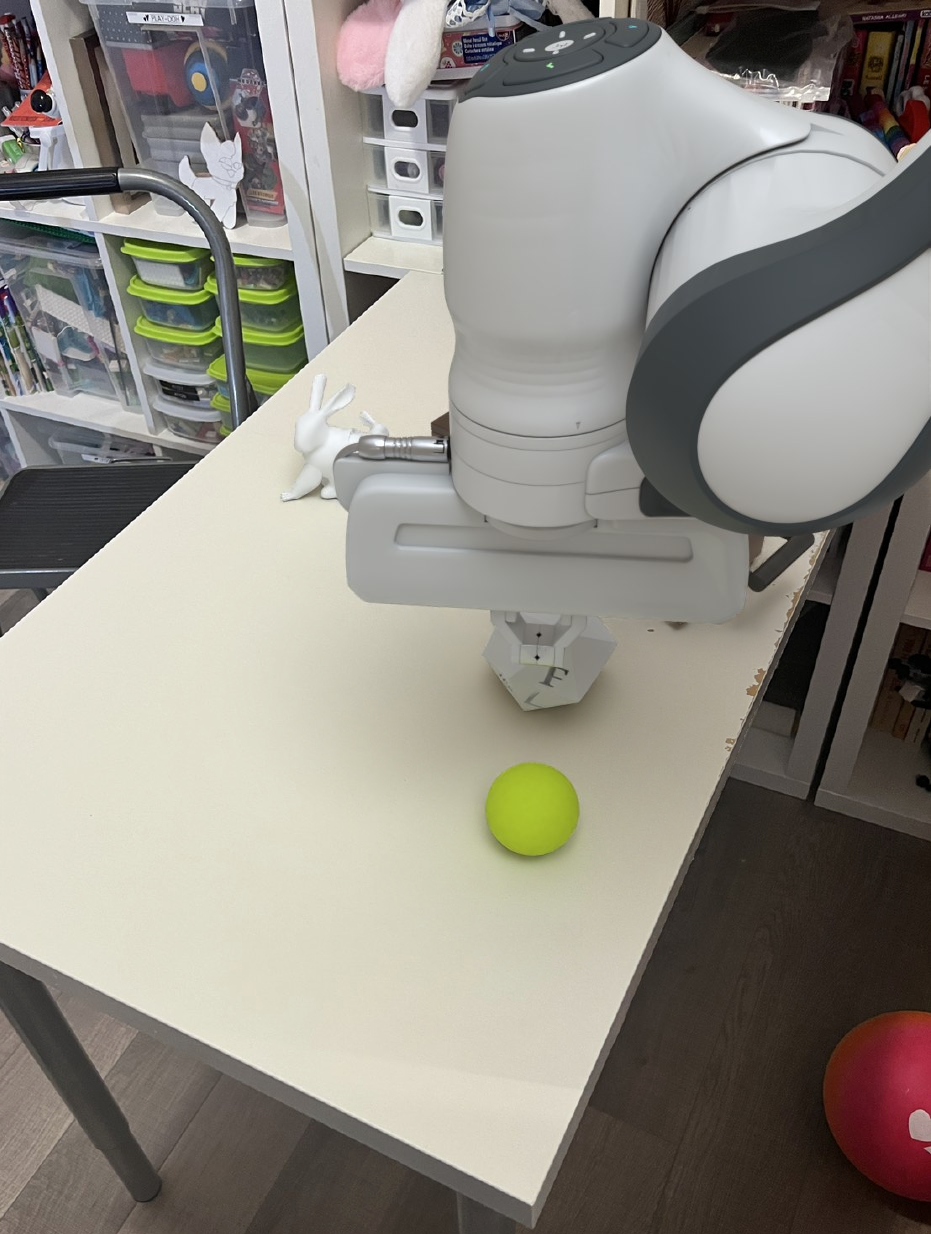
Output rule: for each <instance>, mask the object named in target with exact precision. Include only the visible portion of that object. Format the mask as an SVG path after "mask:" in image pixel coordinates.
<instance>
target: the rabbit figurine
mask: <svg viewBox="0 0 931 1234" xmlns="http://www.w3.org/2000/svg"><path fill="white" fill-rule="evenodd" d="M327 382H328V378H327V375H326V374H325V373H318V374H316V375H315V376H314V377H313V380H312V383H311V389H310V397H309V406H308V410H307V411H306V412H304V413H302V414H301V415H300V416H299V417H298V418H297V419H296V420H295V425H294V437H293V447H294V449H295V451H296V452H298V453H301V455H302V457H303V458H302V459H303V460H304V462H305V463H304V466H303V468H302V470H301V472H300V474H299V476H298V478H297V479H296V481H295V483H294V484H293V486H292V488H291V491H288V492H287V491H285V492H281V493H280V494H279V498H280V499H279V501H282V502H286V501H291V500H298V499H301V498H302V497H303V496H306V495H307V494H309V493H310V492H313V490H315V489H316V488H318V487H319V485H320V484H321V485H322V486H323V487H322V488H321V490H320V498H322V499H337V495H336V491H335V484H334V477H333V470H332V469H333V462H334V459H335V457H336V455H337V454H338V452H339V451H340V450H341V449H343V448H344V447H346V446H347V445H350V444H353V443H358V442H359V438H360V437H361V436H365V435H386V436H387V437H390V431H389V429H388V428H387V426H386V425H385V424H383V423H379V422H376V420H374V418H373V417H372V415H371V413H369V412H368V411H367V410H366V409H363V410H361V412H360V414H361V415H359V417H358V420H359V422H360V424H362V425H363V426H366V427H368V428H369V430H368V432H365V431H361V430H357V429H356V428H355V427H351V428H342V427H339V426H335V425H330V424H329V423H328V422H327V420H329V418H330V417H332V416H333V415H334V414H336V413H337V412H339V411H340V410H342V409H345V408H346V407H347V406H349V405H350V404H351V403H352V402H353V400H354V399H355V397H356V386H355V385H354V384H353V383H352V382H348V383H346V384H345V385H344V386H342V388H341V389H339V390H338V391H337V392H335V393H334V394H333V395H332V396H331V397H330V398H329V399H328V400H326V402H325V403H324V404H323V399H324V393H325V390H326V386H327ZM322 404H323V405H322ZM353 453H358V451H356V452H353Z"/></svg>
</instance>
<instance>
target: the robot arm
mask: <svg viewBox="0 0 931 1234" xmlns="http://www.w3.org/2000/svg"><path fill="white" fill-rule="evenodd" d="M444 156H445V157H444V168H443V169H444V170H443V187H442V229H441V231H442V273H443V274H442V275H443V276H442V277H443V292H444V293H443V294H444V299H445V304H446V307H447V310H448V312H449V315H450V319H451V321H452V324H453V331H454V339H455V341H454V350H453V351H454V352H453V355H452V358H451V362H450V366H449V370H448V377H447V395H448V396H447V397H448V399H447V400H448V411H449V422H450V437H440V436H431V435H414V436H402V437H401V436H399V437H398V436H397V437H396V436H395V437H394V436H389V437H387V436H386V435H365V436H361V437H360V438H359V442H358V443H353V444H350V445H347V446H346V447H344V448H343V449H341V450H340V451H339V452H338V454H337V455H336V457H335V459H334V462H333V469H332V470H333V477H334V484H335V491H336V495H337V497H336V499H337V501H338V502H339V504H340V506H341V507H342V508H343V510H345V511H346V512H347V520H346V528H345V529H346V531H345V549H344V550H345V553H344V554H345V557H344V558H345V574H346V575H345V576H346V583H347V586H348V588H349V590H351V592H353V593H354V594H355V595H356V597H358V598H359V599H360V600H361V601H362V602H365V603H368V604H380V605H398V606H399V605H401V606H415V607H417V606H418V607H432V608H433V607H434V608H448V609H465V610H481V611H489V613H490V614H489V616H490V619H489V620H490V622H491V624H492V625H493V627H494V628H495V627H496V629H497V630H498V631H499V632H500V633H501V635H502V636H503V637H504V638H505V640H506V641H507V642H508V643H509V644H511V664H520V665H536V666H537V665H538V666H549V667H561V668H563V665H564V655H565V647H568V646H569V645H570V644H571V643H572V642H573V641H574V640H575V639H576V638H577V637H578V635H579V634H580V633H581V632H582V631H583V630H584V629H585V628H586V627H587V616H593V617H599V618H608V619H609V618H611V619H624V620H625V619H627V620H628V619H629V620H643V621H660V622H661V621H662V622H675V623H677V622H683V623H692V624H693V623H694V624H708V625H723V624H725V623H727V622H729V621H731V619H733V618H735V617H736V616H737V615H739V614H740V613H741V612H742V611H743V610H744V608H745V604H746V599H747V593H748V588H749V587H748V577H749V570H750V563H749V539H748V535H754V536H764V537H765V538H767V537H768V538H781V537H790V536H800V535H807V534H813V535H814V534H818V533H822V532H827V531H831V530H834V529H837V528H841V527H843V526H847V525H850V524H851V523H854V522H857V521H860V520H862V519H864V518H866V517H867V516H871V515H872V514H874V513H876V512H878V511H880V510H881V509H883V508H885V507H887V506H888V505H890V504H891V503H893V502H894V501H896V500H897V499H900V497H902V496H903V495H905V494H906V493H907V492H908V491H910V490H911V489H912V488H913V487H914V486H915V485H916V484H918V482H919V481H920V480H922V479H923V478H924V477H925V476H926V475H927V474H928V472H929V471H930V470H931V128H930V129H929V130H928V131H927V132H926V133H925V134H924V135H923V136H922V137H921V138H920V139H919V140H918V141H917V142H916V143H915V144H914V145H913V146H912V147H911V148H910V150H908V152H907V153H905V155H904V156H902V158H901V159H900V160H899V161H898V160H897V159H896V157H895V155H894V154H893V153H892V151H891V149H890V148H889V147H888V146H887V145H886V143H884V141H882V139H881V138H879V136H878V135H876V134H875V133H873V131H871V130H870V129H868V128H867V127H865V126H864V125H862V124H861V123H858V122H856V121H854V120H852V119H850V118H848V117H845V116H842V115H839V114H834V113H829V112H823V111H813V110H811V111H809V110H805V109H802V108H798V107H794V106H792V105H787V104H784V103H782V102H778V101H775V100H772V99H769V98H767V97H765V96H761V95H759V94H756V93H754V92H752V91H750V90H747V89H745V88H743V87H741V86H739V85H737V84H735V83H732V82H731V81H729V80H727V79H725V78H723V77H722V76H720V75H719V74H717V73H715V72H714V71H712V70H710V69H708V68H707V67H706V66H704V65H702V64H701V63H700V62H698V61H696V60H695V59H694V58H693V57H691V56H690V55H689V54H688V53H687V52H686V51H684V50H683V49H682V48H681V47H680V46H679V45H678V43H676V42H675V40H674V39H673V38H672V37H671V36H670V35H669V34H668V33H667V31H666V30H665V29H664V28H663V27H662V26H660V25H658V24H656V23H655V22H653V21H650V20H646V19H640V18H637V17H622V18H621V17H612V16H601V17H600V16H599V17H592V18H585V19H580V20H575V21H570V22H567V23H562V24H559V25H556V26H551V27H548V28H546V29H543V30H540V31H536V32H534V33H532V34H530V35H527V36H525V37H523V38H522V39H521V40H519V41H517V42H515V43H513V44H510V45H508V46H505V47H503V48H502V49H499V51H497V52H496V53H495V54H494V55H493V56H491V57H490V58H489V59H488V60H487V61H486V62H485V63H484V64H483V65H482V66H481V67H480V68H479V69H478V70H477V71H476V72H475V73H474V75H473V76H472V77H471V78H470V80H469V81H468V83H467V84H466V86H465V87H464V89H463V90H462V92H461V93H460V95H459V97H458V98H457V101H456V102H455V105H454V107H453V111H452V113H451V118H450V122H449V126H448V132H447V139H446V147H445V155H444ZM356 451H358V453H353V452H356ZM519 612H528V613H544V614H560V615H561V617H560V619H559V620H558V621H557V622H556V623H555V625H546V624H532V623H526V622H525V620H524V619H523V617H522V616H521V614H520V613H519Z"/></svg>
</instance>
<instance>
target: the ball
mask: <svg viewBox="0 0 931 1234" xmlns="http://www.w3.org/2000/svg"><path fill="white" fill-rule="evenodd" d="M485 818H486V821H487V825H488V827H489V830H490V831H491V833H492V834H493V837H495V839H496V840H497V841H498V842H499V843H500V844H501V845H502V846H504V847H505V848H507V849H508V850H510V851H512V852H514V853H516V854H519V855H523V856H532V857H534V856H542V855H543V856H544V855H546V854H550V853H552V852H554V851H557V850H558V849H559V848H561V847H563V845H565V844H566V843H567V842H568V841H569V839H570V838H571V837H572V835H573V834H574V832H575V830H576V828H577V825H578V822H579V818H580V801H579V797H578V793H577V791H576V789H575V787H574V785H573V784H572V782H571V781H570V780H569V778H568V777H567V776H566V775H565V774H564V773H563V772H561V771H560V770H559V769H557V768H555V767H554V766H551V765H549V764H545V763H542V762H530V761H529V762H522V763H518V764H515V765H513V766H511V767H509V768H507V769H506V770H504V771H502V773H500V774H499V775H498V776H497V777H496V778H495V780H494V781H493V782H492V784H491V786H490V788H489V789H488V793H487V795H486V800H485Z"/></svg>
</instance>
